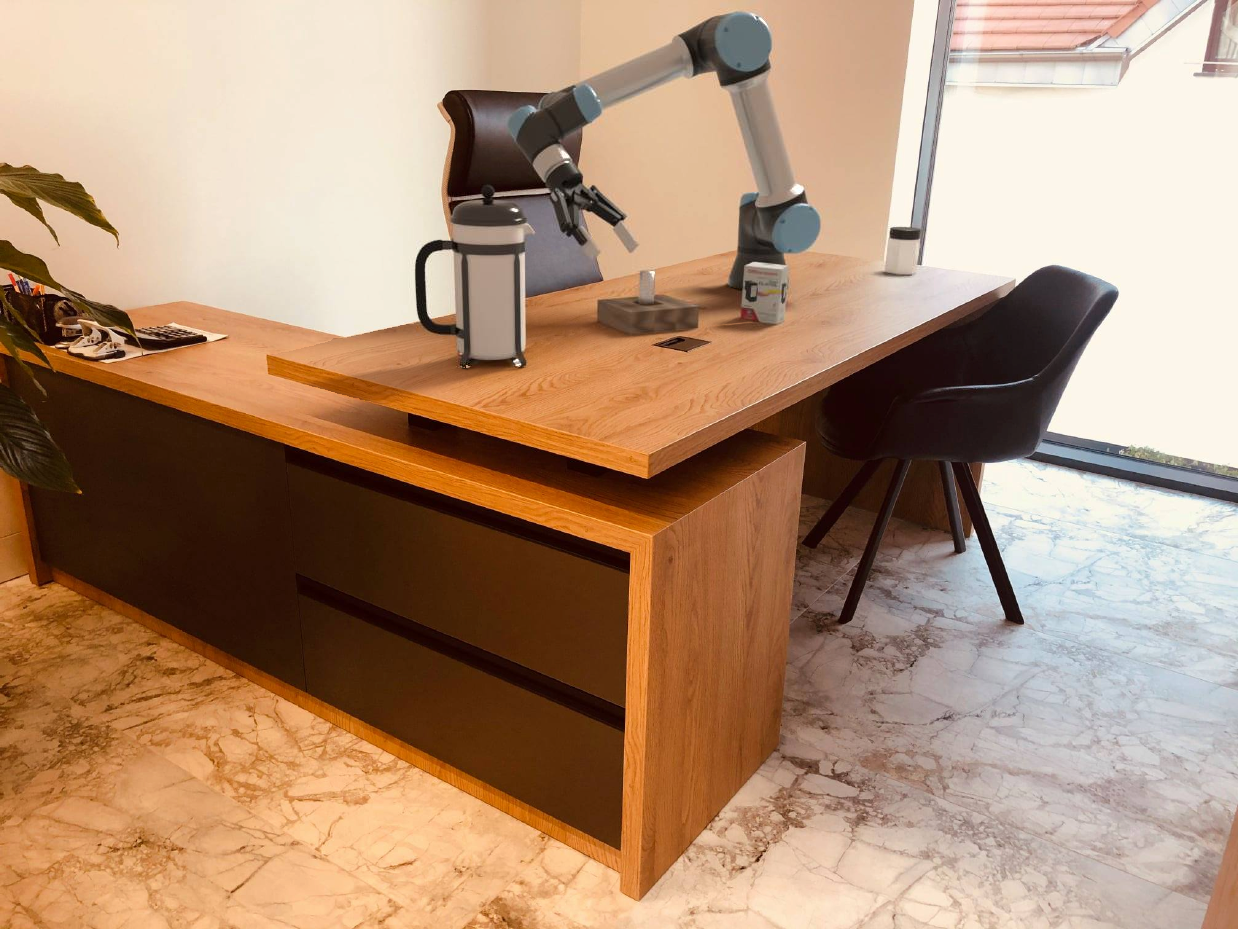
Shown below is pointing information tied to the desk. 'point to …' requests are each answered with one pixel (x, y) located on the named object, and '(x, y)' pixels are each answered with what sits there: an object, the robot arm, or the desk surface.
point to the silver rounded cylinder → (646, 287)
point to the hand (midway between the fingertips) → (615, 252)
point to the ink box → (764, 292)
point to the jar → (902, 250)
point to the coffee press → (483, 280)
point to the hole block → (647, 314)
